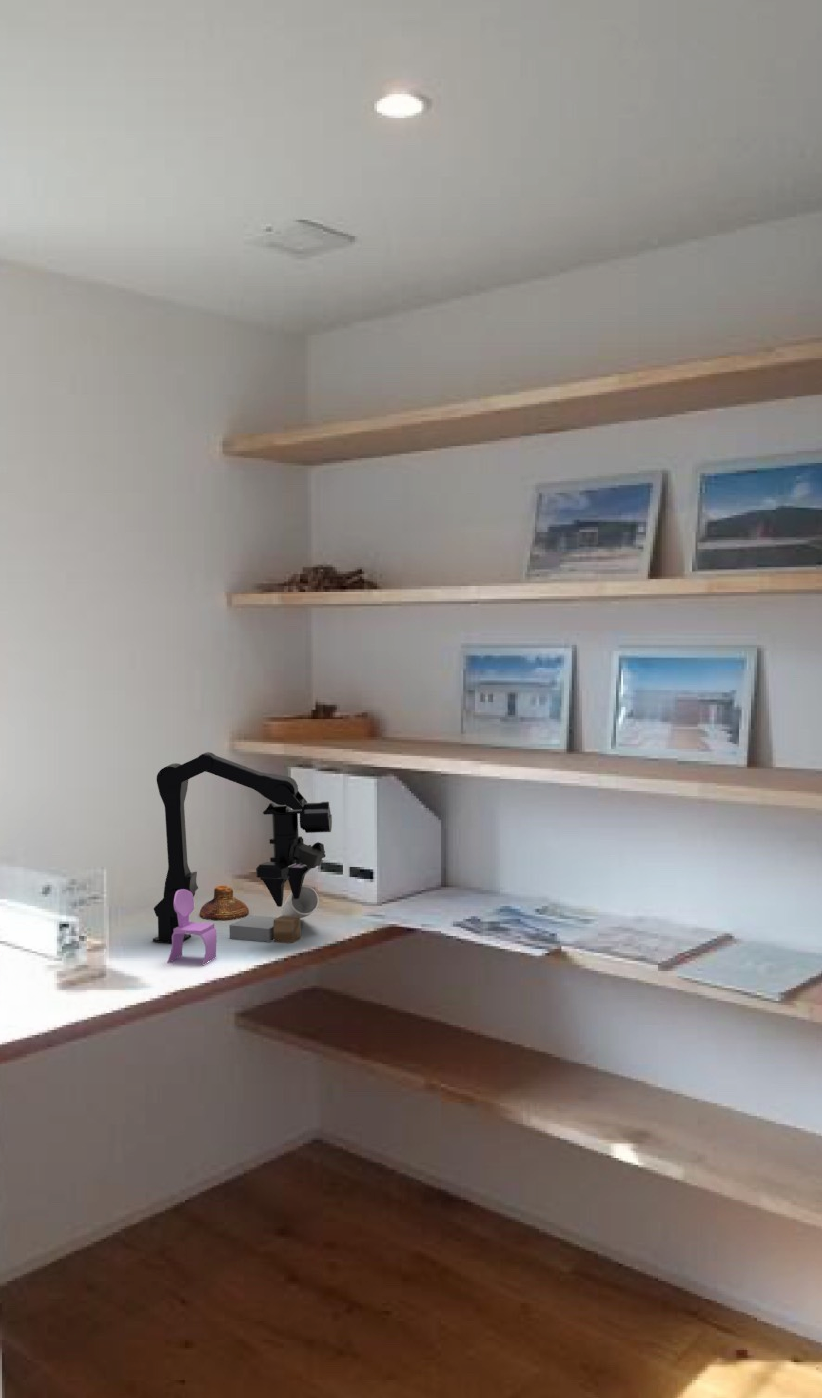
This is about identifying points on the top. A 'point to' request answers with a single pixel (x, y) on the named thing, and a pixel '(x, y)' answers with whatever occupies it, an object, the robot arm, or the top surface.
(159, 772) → the robot arm
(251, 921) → the base
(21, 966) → the top surface
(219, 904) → the bell
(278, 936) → the walnut block
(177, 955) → the toy chair
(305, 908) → the white hollow cylinder
